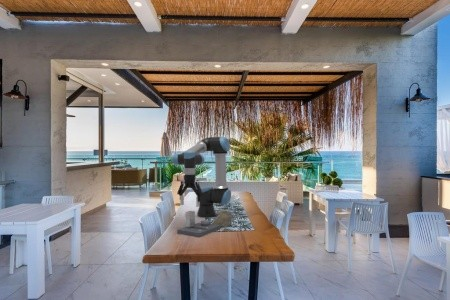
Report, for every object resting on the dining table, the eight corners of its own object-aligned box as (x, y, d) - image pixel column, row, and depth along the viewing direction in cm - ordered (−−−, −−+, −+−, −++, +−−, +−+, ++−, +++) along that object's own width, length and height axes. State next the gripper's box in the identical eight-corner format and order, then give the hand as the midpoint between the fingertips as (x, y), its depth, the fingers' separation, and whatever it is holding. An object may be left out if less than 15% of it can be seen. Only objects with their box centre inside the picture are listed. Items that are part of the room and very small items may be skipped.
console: (177, 233, 216) (177, 225, 216) (199, 226, 236) (199, 219, 236) (199, 237, 206) (199, 229, 206) (220, 229, 227) (220, 221, 227)
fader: (185, 227, 221) (185, 211, 221) (190, 225, 226) (190, 210, 226) (189, 227, 220) (189, 212, 219) (194, 225, 224) (194, 211, 224)
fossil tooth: (212, 227, 238) (233, 224, 239) (212, 228, 232) (233, 226, 233) (210, 211, 238) (231, 208, 239) (211, 212, 232) (232, 210, 233)
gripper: (171, 174, 226) (172, 205, 226) (201, 175, 213) (201, 208, 213) (179, 173, 232) (179, 203, 232) (208, 174, 219) (208, 206, 219)
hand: (189, 205), depth 222 cm, fingers open, 13 cm apart
